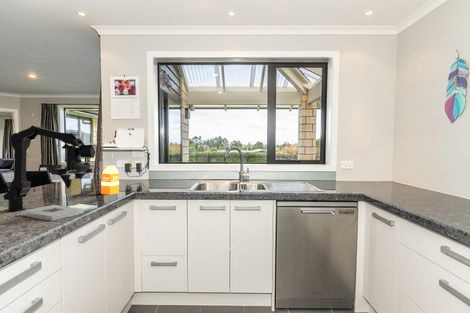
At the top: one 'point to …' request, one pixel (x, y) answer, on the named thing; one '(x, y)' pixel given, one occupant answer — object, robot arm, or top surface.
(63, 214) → the hole plate
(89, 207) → the pad
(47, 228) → the top surface
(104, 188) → the orange juice
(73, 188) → the tan wooden block
